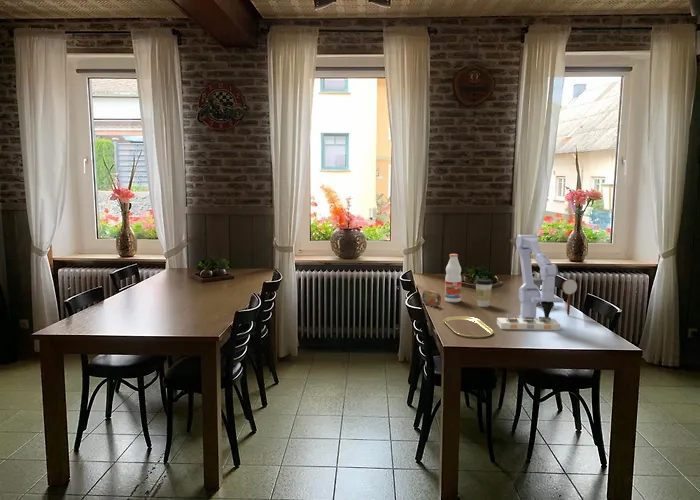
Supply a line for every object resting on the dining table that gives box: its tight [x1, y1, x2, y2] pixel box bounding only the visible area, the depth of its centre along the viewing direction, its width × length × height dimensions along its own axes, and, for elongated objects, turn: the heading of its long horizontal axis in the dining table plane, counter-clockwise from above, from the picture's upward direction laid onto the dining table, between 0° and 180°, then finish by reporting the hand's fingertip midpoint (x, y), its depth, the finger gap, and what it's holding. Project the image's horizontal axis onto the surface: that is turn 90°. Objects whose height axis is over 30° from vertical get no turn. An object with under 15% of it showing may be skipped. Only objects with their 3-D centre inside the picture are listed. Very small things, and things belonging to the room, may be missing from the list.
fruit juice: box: [444, 253, 462, 303], centre depth 317 cm, size 9×9×28 cm
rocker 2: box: [538, 316, 552, 320], centre depth 262 cm, size 6×4×1 cm, turn 176°
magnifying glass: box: [561, 278, 579, 317], centre depth 283 cm, size 9×2×20 cm, turn 96°
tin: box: [421, 289, 442, 308], centre depth 308 cm, size 15×3×8 cm, turn 27°
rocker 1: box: [505, 313, 518, 321], centre depth 263 cm, size 6×4×1 cm, turn 176°
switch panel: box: [496, 317, 561, 331], centre depth 263 cm, size 10×28×4 cm, turn 86°
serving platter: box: [443, 315, 494, 339], centre depth 262 cm, size 19×35×2 cm, turn 6°
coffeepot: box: [532, 273, 542, 307], centre depth 310 cm, size 15×9×18 cm, turn 107°
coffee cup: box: [474, 278, 494, 308], centre depth 306 cm, size 10×10×15 cm
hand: (546, 316), depth 259 cm, fingers closed
